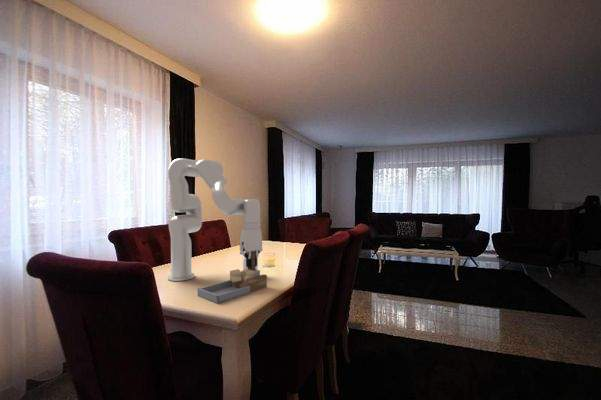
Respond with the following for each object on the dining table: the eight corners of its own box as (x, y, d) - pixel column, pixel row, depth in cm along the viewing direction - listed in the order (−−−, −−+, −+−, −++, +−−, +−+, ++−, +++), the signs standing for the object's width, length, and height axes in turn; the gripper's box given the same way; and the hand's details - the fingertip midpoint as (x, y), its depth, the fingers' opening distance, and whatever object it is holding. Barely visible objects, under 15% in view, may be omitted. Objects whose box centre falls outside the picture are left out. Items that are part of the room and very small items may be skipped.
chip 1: (230, 279, 127) (229, 270, 127) (239, 277, 129) (238, 269, 129) (232, 282, 123) (231, 273, 123) (241, 280, 125) (240, 271, 125)
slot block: (230, 286, 129) (230, 274, 129) (248, 281, 137) (248, 270, 137) (249, 292, 121) (249, 279, 121) (266, 287, 129) (266, 275, 129)
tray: (197, 295, 117) (197, 288, 117) (230, 286, 130) (230, 280, 130) (217, 303, 108) (217, 296, 108) (250, 293, 121) (250, 286, 121)
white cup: (240, 276, 147) (240, 256, 147) (255, 274, 150) (255, 255, 150) (245, 280, 140) (244, 259, 140) (260, 278, 143) (260, 258, 143)
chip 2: (241, 280, 126) (241, 271, 126) (248, 278, 129) (248, 269, 129) (247, 281, 123) (247, 272, 123) (254, 279, 126) (254, 270, 126)
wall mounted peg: (243, 274, 131) (243, 250, 131) (249, 273, 134) (250, 248, 134) (253, 277, 127) (253, 252, 127) (259, 276, 130) (260, 250, 130)
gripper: (259, 224, 139) (259, 262, 139) (231, 227, 126) (232, 268, 127) (270, 225, 134) (270, 264, 134) (242, 228, 122) (242, 271, 122)
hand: (251, 266), depth 130 cm, fingers closed on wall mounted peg, 2 cm apart
